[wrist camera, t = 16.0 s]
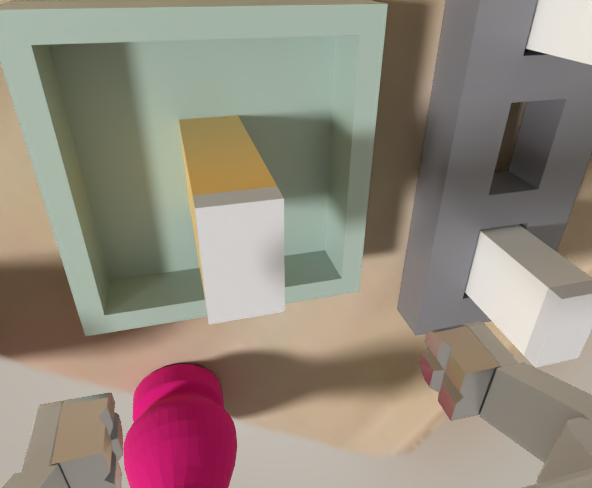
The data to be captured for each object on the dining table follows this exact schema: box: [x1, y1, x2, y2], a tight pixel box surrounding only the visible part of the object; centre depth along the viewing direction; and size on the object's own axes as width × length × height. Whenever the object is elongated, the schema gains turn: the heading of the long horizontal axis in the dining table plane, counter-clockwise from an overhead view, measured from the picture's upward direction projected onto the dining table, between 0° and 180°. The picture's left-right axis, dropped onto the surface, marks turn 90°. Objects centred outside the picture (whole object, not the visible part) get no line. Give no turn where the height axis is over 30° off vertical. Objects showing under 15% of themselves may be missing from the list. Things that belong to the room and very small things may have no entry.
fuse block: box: [397, 0, 592, 335], centre depth 29 cm, size 27×10×3 cm, turn 0°
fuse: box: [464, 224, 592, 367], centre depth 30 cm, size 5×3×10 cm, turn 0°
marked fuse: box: [179, 115, 285, 324], centre depth 21 cm, size 5×3×10 cm, turn 0°
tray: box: [0, 0, 388, 336], centre depth 24 cm, size 16×16×4 cm
